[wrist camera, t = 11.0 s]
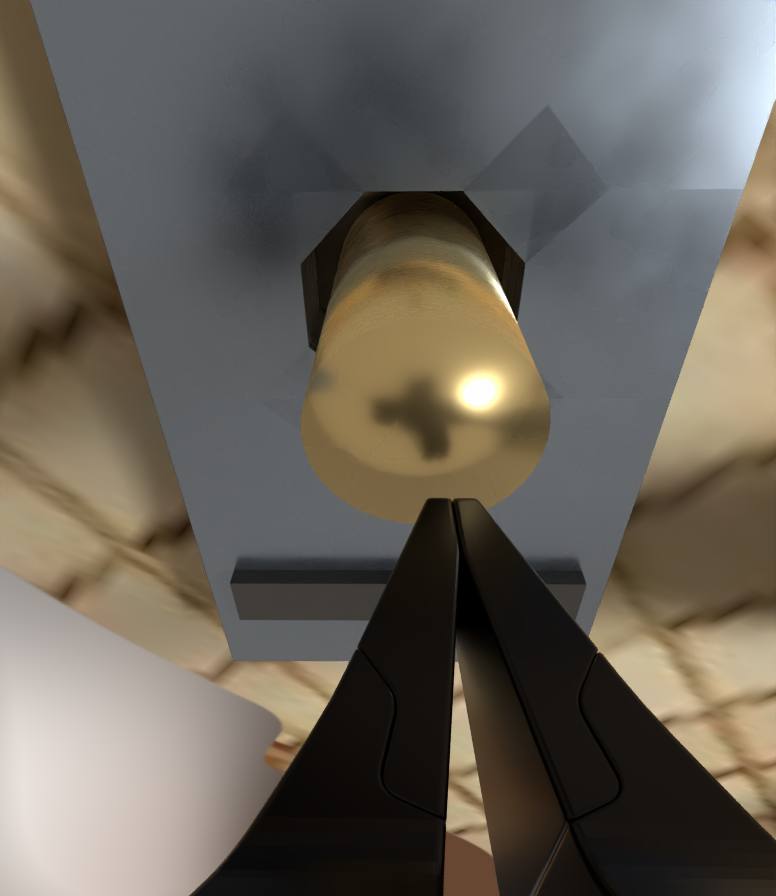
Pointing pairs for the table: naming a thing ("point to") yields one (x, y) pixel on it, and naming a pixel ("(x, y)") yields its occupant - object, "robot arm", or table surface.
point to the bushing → (421, 368)
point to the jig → (405, 169)
